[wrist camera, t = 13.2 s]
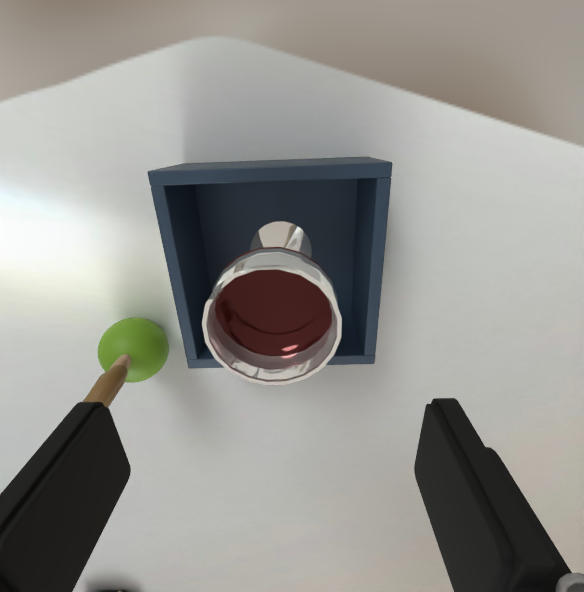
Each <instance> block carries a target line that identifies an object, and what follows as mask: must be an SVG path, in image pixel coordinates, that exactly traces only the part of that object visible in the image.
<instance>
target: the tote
mask: <svg viewBox="0 0 584 592" xmlns="http://www.w3.org/2000/svg"><path fill="white" fill-rule="evenodd" d="M391 172H392V162H388V161H384V160H379V159H375V158H370V157H347V158H321V159H294V160H267V161H240V162H213V163H186V164H180V165H175V166H170V167H166V168H161V169H156V170H151V171H148V177H149V182H150V185H151V191H152V196H153V200H154V205H155V210H156V215H157V219H158V224H159V229H160V234H161V238H162V243H163V248H164V253H165V257H166V262H167V267H168V272H169V276H170V281H171V286H172V291H173V295H174V300H175V305H176V310H177V314H178V319H179V324H180V329H181V333H182V338H183V343H184V348H185V352H186V357H187V363H188V367H189V368H225V367H223V366H222V365H221V364H220V363H219V362H218V361H217V360H216V359H215V358H214V356H213V355H212V353H211V351H210V349H209V348H208V346H207V344H206V343H205V338H204V333H203V328H202V319H203V314H204V308H205V304H206V302H207V301H208V299H209V297H210V296H211V294H212V292H213V286H214V285H215V283H216V281H217V280H218V278H219V276H220V275H221V273H222V271H223V270H224V268H225V267H226V266H227V265H228V264H229V263H231V262H232V261H233V260H234V259H236V258H237V257H238V256H239V255H241V254H243V253H246V252H249V251H250V247H251V242H252V239H253V237H254V236H255V234H256V233H257V231H258V230H260V229H261V228H262V227H263V226H265V225H267V224H270V223H272V222H281V221H285V222H288V223H292V224H295V225H296V226H298V227H299V228H301V229H302V230H303V231H304V232H305V234H306V235H307V236H308V238H309V241H310V243H311V247H312V256H311V259H312V260H314V261H315V262H317V263H318V264H319V265H320V267H321V268H322V269H323V270H324V271H325V273H326V274H327V275H328V276H329V278H330V280H331V281H332V284H333V287H334V290H335V292H336V295H337V298H338V309H339V312H340V315H341V317H342V332H341V339H340V342H339V344H338V347H337V349H336V352H335V354H334V356H333V357H332V358H331V359H330V360H329V361H328V362H327V364H326V365H347V364H374V362H375V351H376V340H377V329H378V318H379V307H380V296H381V284H382V273H383V262H384V251H385V240H386V229H387V218H388V207H389V196H390V185H391V178H390V177H391Z"/></svg>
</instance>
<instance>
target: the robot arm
mask: <svg viewBox="0 0 584 592" xmlns="http://www.w3.org/2000/svg"><path fill="white" fill-rule="evenodd" d="M414 470H415V477H416V481H417V483H418V486H419V489H420V492H421V495H422V498H423V501H424V504H425V507H426V510H427V513H428V516H429V519H430V522H431V525H432V528H433V531H434V534H435V537H436V540H437V543H438V546H439V549H440V551H441V554H442V557H443V560H444V563H445V566H446V569H447V572H448V575H449V578H450V581H451V584H452V587H453V590H454V592H584V574H581V573H572V572H571V571H570V569H569V568H568V566H567V564H566V563H565V561H564V560H563V558H562V556H561V555H560V553H559V552H558V550H557V548H556V547H555V545H554V544H553V542H552V540H551V539H550V537H549V536H548V534H547V532H546V531H545V529H544V527H543V526H542V524H541V523H540V521H539V519H538V518H537V516H536V515H535V513H534V511H533V510H532V508H531V507H530V505H529V503H528V502H527V500H526V499H525V497H524V495H523V494H522V492H521V491H520V489H519V487H518V486H517V484H516V483H515V481H514V479H513V478H512V476H511V475H510V473H509V471H508V470H507V468H506V466H505V465H504V463H503V462H502V460H501V458H500V457H499V456H498V454H497V453H496V452H495V451H494V450H493V449H492V448H488V447H485V446H484V444H483V442H482V441H481V439H480V437H479V436H478V434H477V432H476V431H475V429H474V427H473V426H472V424H471V422H470V421H469V419H468V417H467V416H466V414H465V412H464V411H463V409H462V407H461V406H460V404H459V402H458V401H457V400H456V399H455V398H440V399H433V400H432V403H431V404H427V405H426V408H425V413H424V418H423V424H422V429H421V434H420V439H419V445H418V450H417V455H416V460H415V467H414ZM130 471H131V468H130V464H129V462H128V459H127V456H126V453H125V451H124V448H123V445H122V443H121V440H120V437H119V435H118V432H117V429H116V427H115V424H114V421H113V418H112V416H111V413H110V410H109V408H108V407H105V406H104V404H103V403H102V402H80V403H77V404H76V405H75V406H74V407H73V409H72V410H71V411H70V412H69V413H68V415H67V416H66V417H65V418H64V419H63V421H62V422H61V423H60V424H59V425H58V427H57V428H56V429H55V430H54V431H53V432H52V434H51V435H50V436H49V437H48V438H47V440H46V441H45V442H44V443H43V444H42V446H41V447H40V448H39V449H38V450H37V452H36V453H35V454H34V455H33V456H32V457H31V459H30V460H29V461H28V462H27V463H26V465H25V466H24V467H23V468H22V469H21V471H20V472H19V473H18V474H17V475H16V477H15V478H14V479H13V480H12V481H11V482H10V484H9V485H8V486H7V487H6V488H5V490H4V491H3V492H2V493H1V494H0V592H72V591H73V589H74V587H75V585H76V583H77V581H78V579H79V577H80V575H81V573H82V571H83V569H84V567H85V565H86V563H87V561H88V559H89V557H90V555H91V553H92V551H93V549H94V547H95V545H96V543H97V541H98V539H99V537H100V535H101V533H102V531H103V529H104V527H105V525H106V523H107V521H108V519H109V517H110V515H111V513H112V511H113V509H114V507H115V505H116V503H117V501H118V499H119V497H120V495H121V493H122V492H123V490H124V488H125V486H126V484H127V482H128V479H129V476H130Z"/></svg>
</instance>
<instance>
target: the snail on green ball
mask: <svg viewBox="0 0 584 592" xmlns="http://www.w3.org/2000/svg"><path fill="white" fill-rule="evenodd" d="M168 351H169V344H168V340H167V337H166V335H165V333H164V331H163V330H162V329H161V328H160V327H159V326H158V325H157V324H155V323H154V322H152V321H150V320H147V319H143V318H128V319H124V320H121V321H119V322H117V323H115V324H114V325H112V326H111V327H110V328H109V329H108V330H107V331H106V332H105V333H104V335H103V336H102V338H101V340H100V343H99V347H98V358H99V362H100V364H101V366H102V368H103V369H104V371H105V372H106V373H104V374H102V375H101V376H100V377H99V379H98V380H97V382H96V383H95V385H94V386H93V388H92V389H91V391H90V392H89V394H88V395H87V396H86V398H85V399H84V400H83V402H102V403H103V404H104V406H105V407H109V405H110V404H111V402H112V401H113V399H114V398H115V396H116V395H117V393H118V392H119V390H120V389H121V387H122V386H123V384H124V382H139V381H143V380H146V379H148V378H150V377H152V376H153V375H155V374H156V373H157V372H158V371H159V370H160V369H161V368H162V366H163V365H164V363H165V361H166V359H167V356H168Z"/></svg>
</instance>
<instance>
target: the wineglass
mask: <svg viewBox="0 0 584 592" xmlns="http://www.w3.org/2000/svg"><path fill="white" fill-rule="evenodd" d="M311 256H312V247H311V243H310V241H309V238H308V236H307V235H306V234H305V232H304V231H303V230H302V229H301V228H299V227H298V226H296V225H295V224H292V223H288V222H285V221H281V222H272V223H270V224H267V225H265V226H263V227H262V228H261V229H260V230H258V231H257V233H256V234H255V236H254V237H253V239H252V242H251V247H250V251H249V252H246V253H243V254H241V255H239V256H238V257H237V258H236V259H234V260H233V261H232V262H231V263H229V264H228V265H227V266H226V267H225V268H224V270H223V271H222V273H221V275H220V276H219V278H218V280H217V281H216V283H215V285H214V286H213V292H212V294H211V296H210V297H209V299H208V301H207V302H206V304H205V308H204V314H203V319H202V328H203V333H204V338H205V343H206V344H207V346H208V348H209V349H210V351H211V353H212V355H213V356H214V358H215V359H216V360H217V361H218V362H219V363H220V364H221V365H222V366H223V367H225V368H226V369H227V370H228V371H229V372H231V373H233V374H235V375H237V376H239V377H241V378H242V379H244V380H246V381H250V382H255V383H259V384H264V385H284V384H290V383H293V382H297V381H300V380H304V379H306V378H308V377H310V376H311V375H313V374H314V373H316V372H318V371H319V370H321V369H322V368H323V367H324V366H325V365H326V364H327V362H328V361H329V360H330V359H331V358H332V357H333V356H334V354H335V352H336V349H337V347H338V344H339V342H340V339H341V332H342V317H341V315H340V312H339V309H338V298H337V295H336V292H335V290H334V287H333V284H332V281H331V280H330V278H329V276H328V275H327V274H326V273H325V271H324V270H323V269H322V268H321V267H320V265H319V264H318V263H317V262H315V261H314V260H312V259H311Z"/></svg>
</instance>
